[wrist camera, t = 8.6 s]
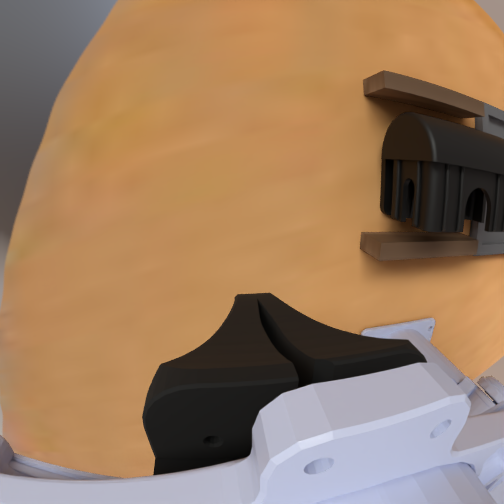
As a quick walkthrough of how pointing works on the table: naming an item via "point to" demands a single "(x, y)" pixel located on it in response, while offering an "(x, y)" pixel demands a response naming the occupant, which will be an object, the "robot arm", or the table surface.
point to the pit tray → (489, 242)
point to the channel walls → (437, 100)
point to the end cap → (442, 174)
